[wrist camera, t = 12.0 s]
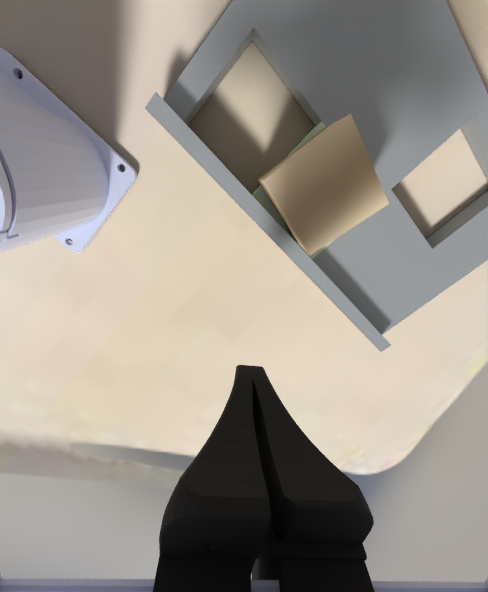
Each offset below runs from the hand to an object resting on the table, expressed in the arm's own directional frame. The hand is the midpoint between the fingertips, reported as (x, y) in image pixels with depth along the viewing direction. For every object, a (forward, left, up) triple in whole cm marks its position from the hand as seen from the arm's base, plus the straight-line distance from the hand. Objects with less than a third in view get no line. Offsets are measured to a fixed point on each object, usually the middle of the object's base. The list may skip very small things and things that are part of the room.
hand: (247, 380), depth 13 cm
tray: (-1, +13, -10) cm, 16 cm away
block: (-3, +10, -8) cm, 13 cm away
